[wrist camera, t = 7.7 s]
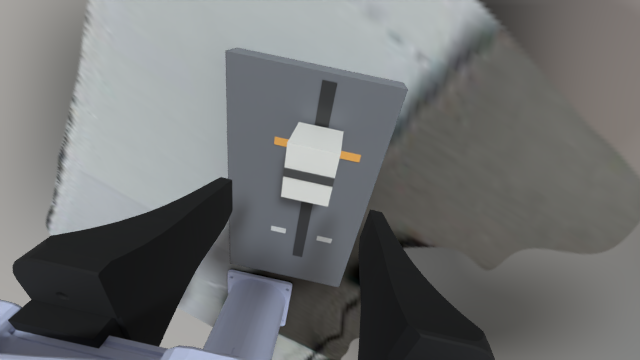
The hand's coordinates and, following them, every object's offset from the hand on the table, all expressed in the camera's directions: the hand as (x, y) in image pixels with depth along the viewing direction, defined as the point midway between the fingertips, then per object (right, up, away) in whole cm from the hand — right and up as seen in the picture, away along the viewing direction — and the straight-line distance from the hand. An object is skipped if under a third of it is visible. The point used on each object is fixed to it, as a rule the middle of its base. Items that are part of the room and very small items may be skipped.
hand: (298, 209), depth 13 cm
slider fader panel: (-1, +1, +11) cm, 11 cm away
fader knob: (+1, +4, +6) cm, 7 cm away
